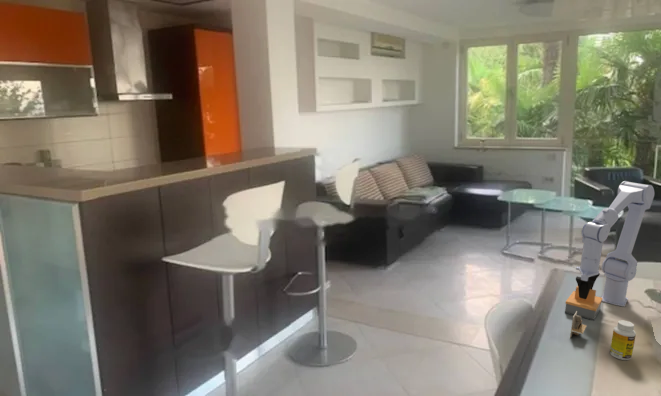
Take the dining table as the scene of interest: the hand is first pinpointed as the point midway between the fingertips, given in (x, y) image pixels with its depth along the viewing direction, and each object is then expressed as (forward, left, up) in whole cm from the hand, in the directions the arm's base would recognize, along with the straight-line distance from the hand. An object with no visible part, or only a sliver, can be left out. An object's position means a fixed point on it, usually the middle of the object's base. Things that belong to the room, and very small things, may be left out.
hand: (585, 295), depth 173 cm
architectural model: (+22, +2, -7) cm, 23 cm away
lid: (0, 0, -4) cm, 4 cm away
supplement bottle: (+27, +15, -6) cm, 31 cm away
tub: (0, 0, -6) cm, 6 cm away
